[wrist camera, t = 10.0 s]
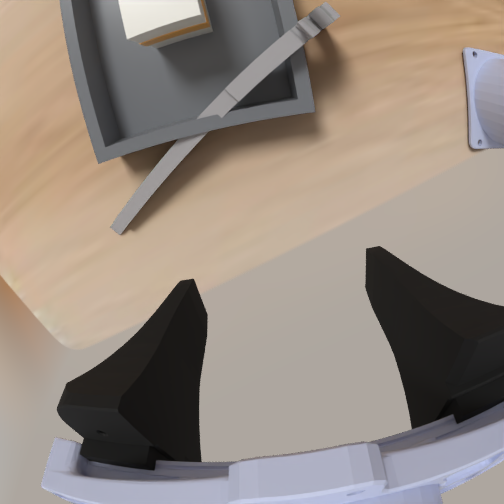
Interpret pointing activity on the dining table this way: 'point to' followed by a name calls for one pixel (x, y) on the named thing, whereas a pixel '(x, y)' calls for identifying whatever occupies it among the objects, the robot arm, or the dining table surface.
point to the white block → (164, 20)
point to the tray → (178, 73)
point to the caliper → (228, 104)
